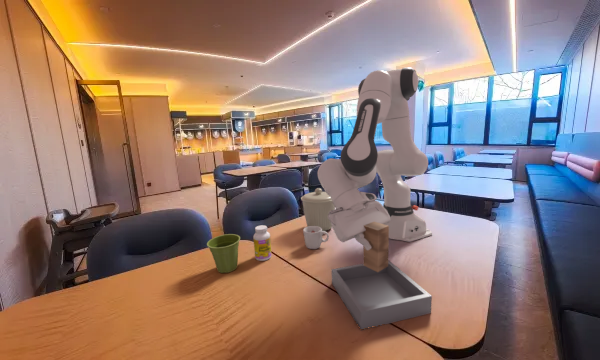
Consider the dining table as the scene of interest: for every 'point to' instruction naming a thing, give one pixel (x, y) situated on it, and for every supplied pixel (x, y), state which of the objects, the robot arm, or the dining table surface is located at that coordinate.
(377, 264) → the walnut block
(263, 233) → the supplement bottle
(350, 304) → the bin
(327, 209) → the canister
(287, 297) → the dining table surface
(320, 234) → the cup
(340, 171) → the robot arm
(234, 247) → the plant pot
